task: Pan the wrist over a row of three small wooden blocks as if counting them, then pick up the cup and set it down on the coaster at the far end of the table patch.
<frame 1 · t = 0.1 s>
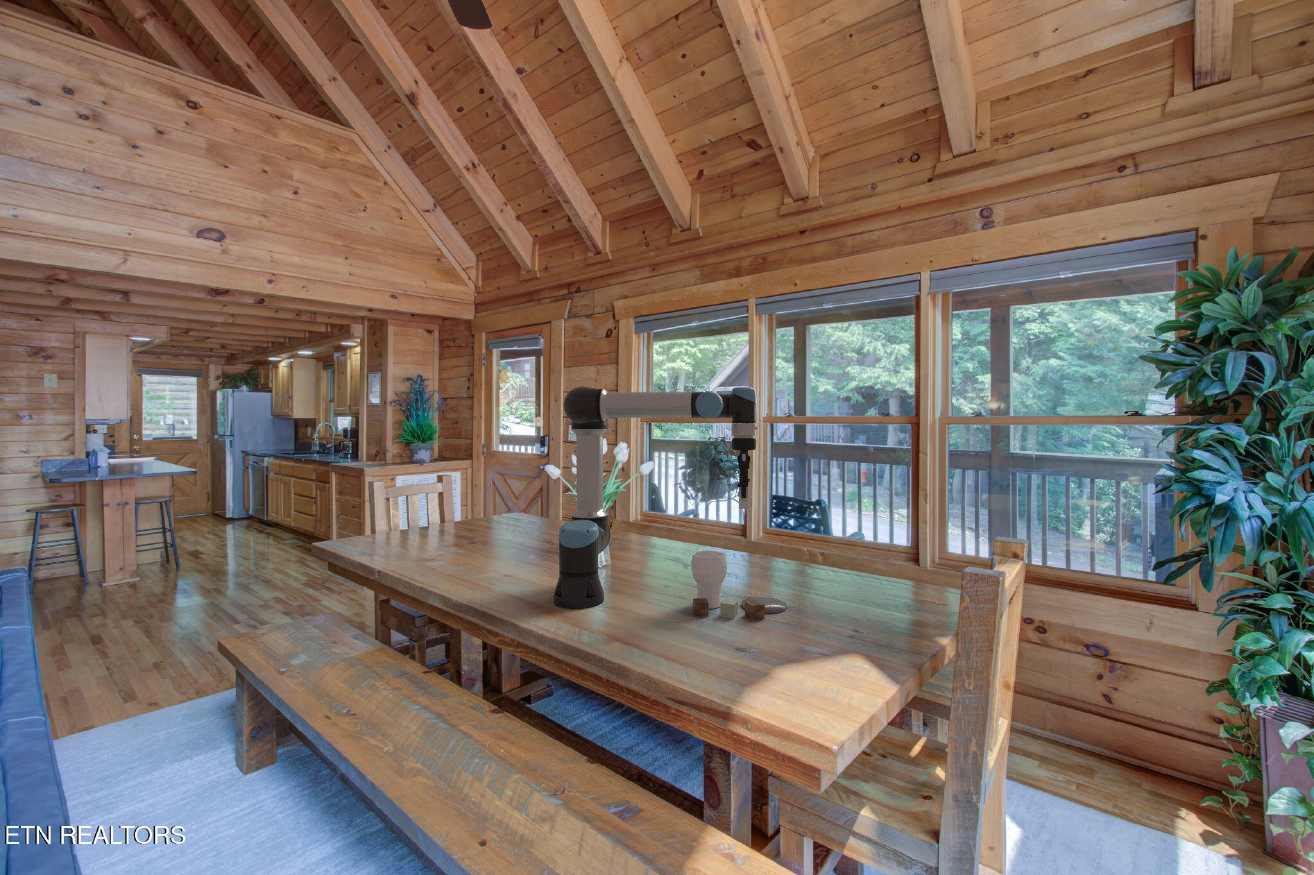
hand: (743, 505, 182), 28 cm above the table, fingers open, 13 cm apart
block b: (729, 615, 163), on the table
block a: (700, 614, 164), on the table
cup: (709, 605, 173), on the table
coaster: (763, 606, 171), on the table
block c: (754, 617, 162), on the table
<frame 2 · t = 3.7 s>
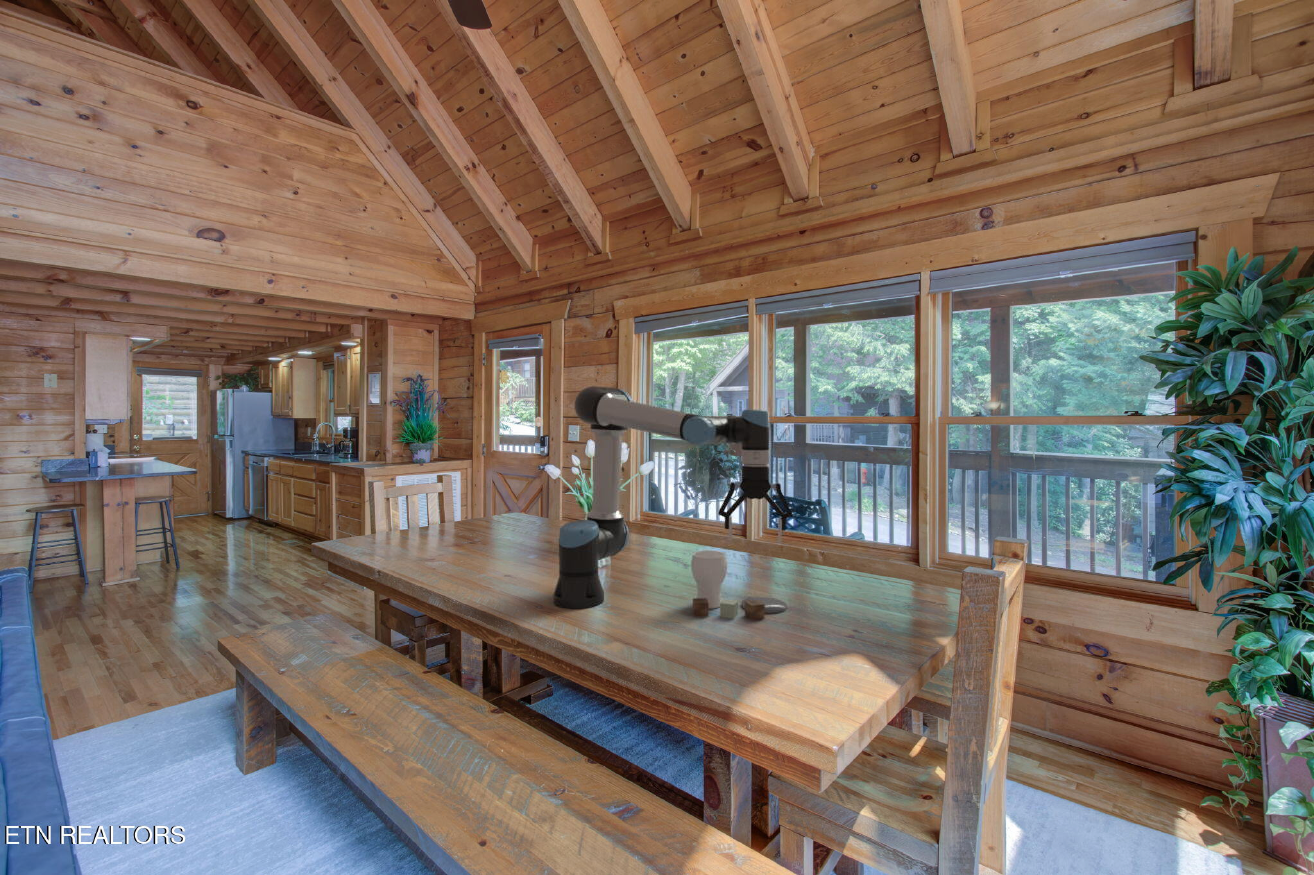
hand: (754, 541, 163), 21 cm above the table, fingers open, 13 cm apart
nothing on the table moved.
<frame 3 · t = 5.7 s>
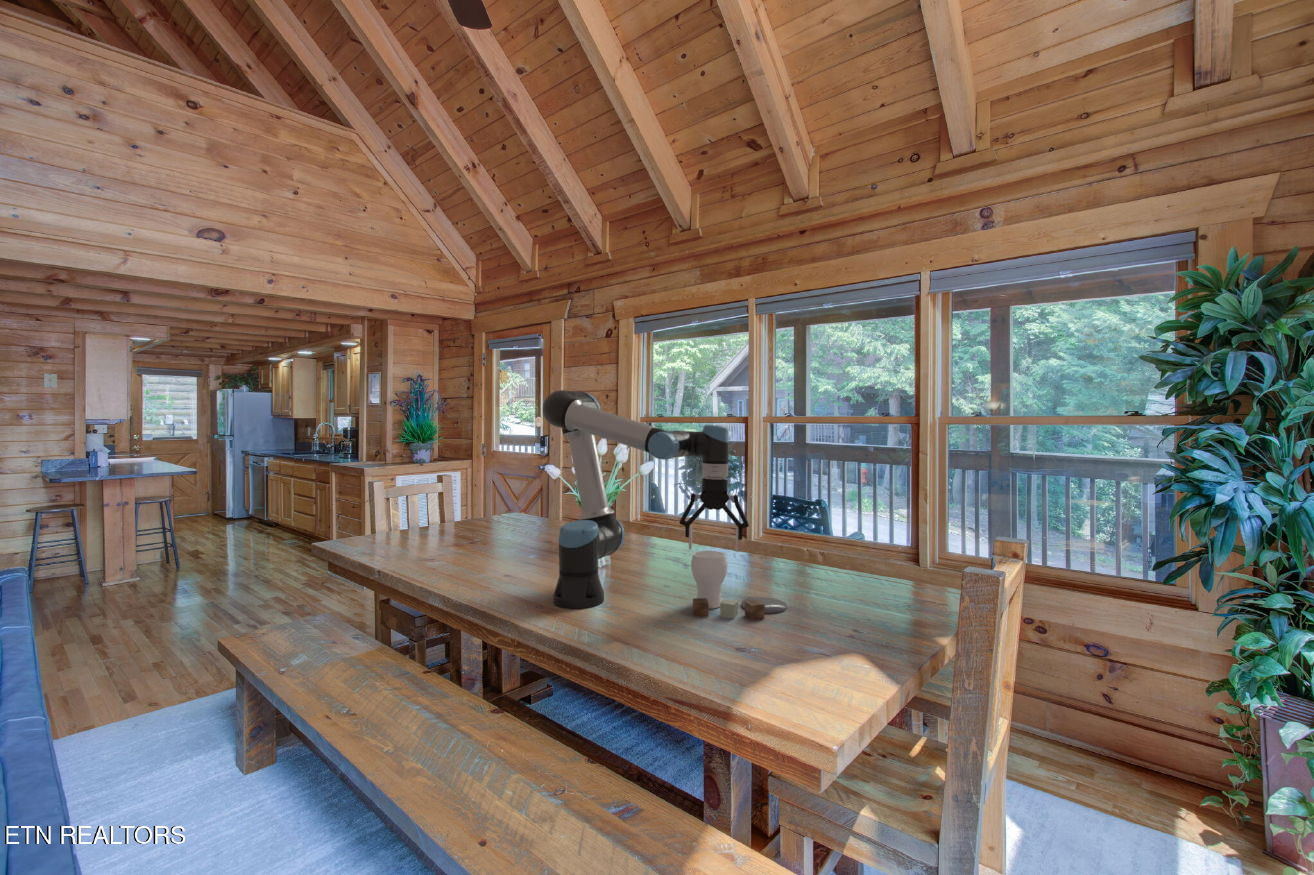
hand: (713, 549, 173), 16 cm above the table, fingers open, 13 cm apart
nothing on the table moved.
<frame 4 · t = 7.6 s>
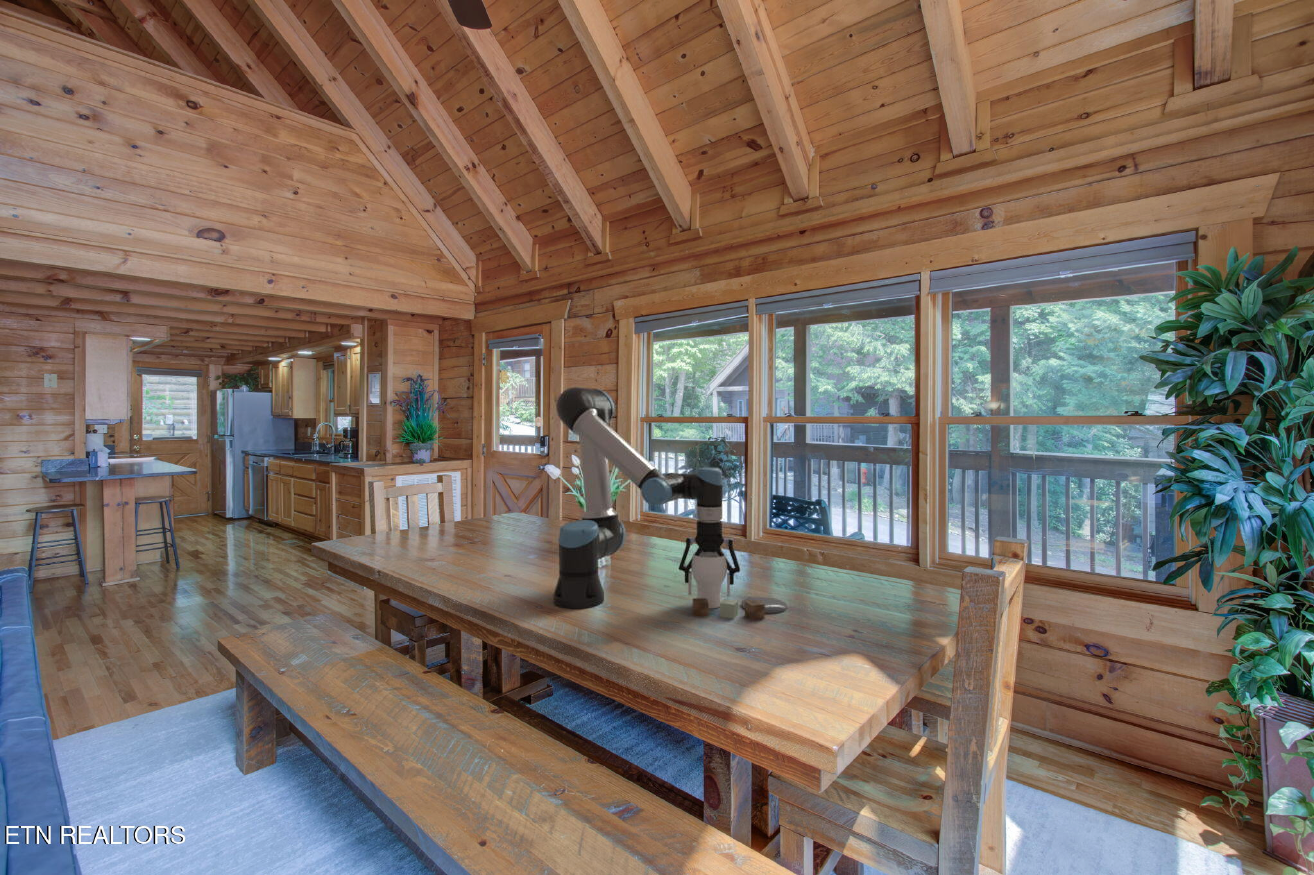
hand: (709, 594, 173), 3 cm above the table, fingers closed on cup, 11 cm apart
cup: (709, 605, 173), on the table, touching gripper
everything else where it was.
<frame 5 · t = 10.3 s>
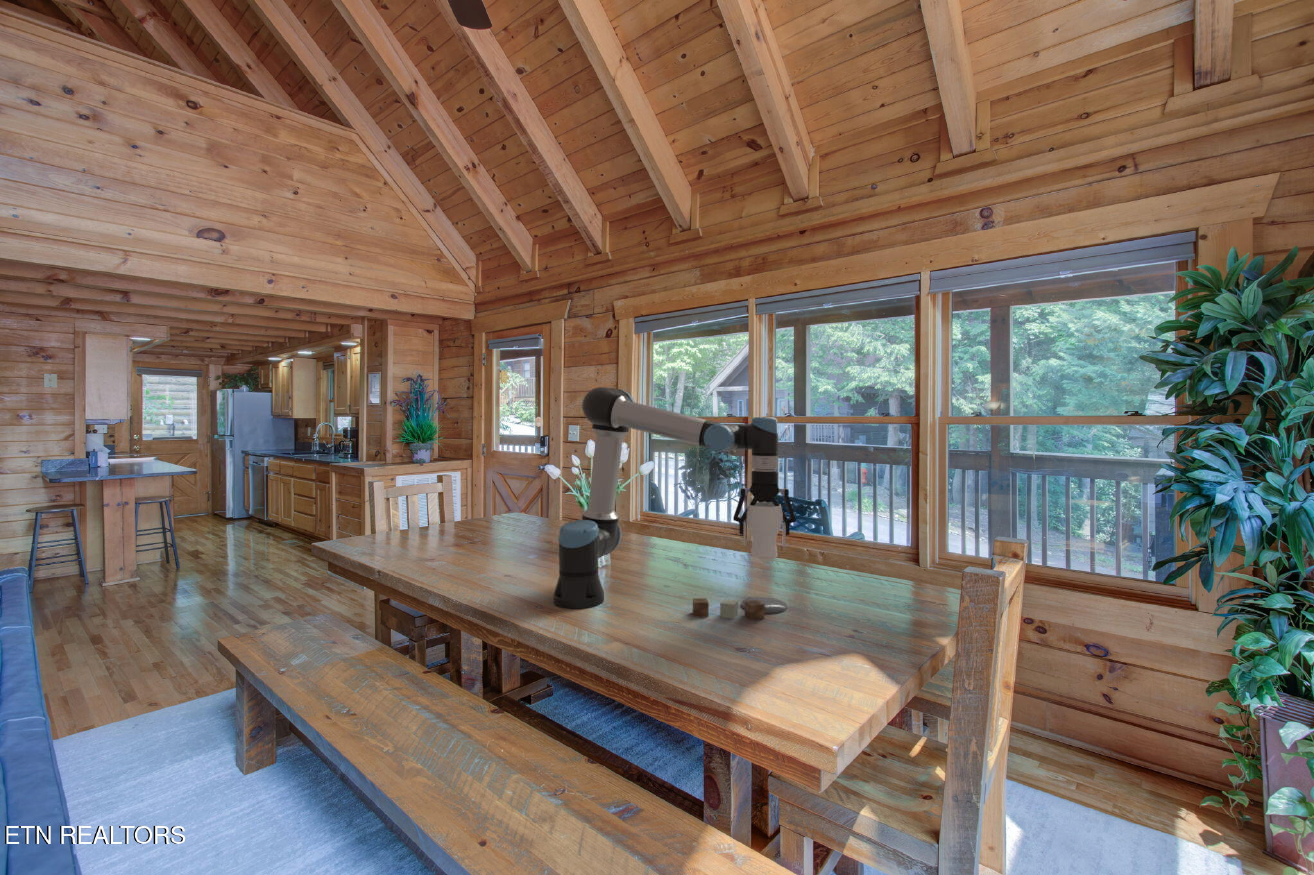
hand: (764, 545, 171), 18 cm above the table, fingers closed on cup, 11 cm apart
cup: (764, 556, 171), point 15 cm above the table, touching gripper
everything else where it was.
when the fingers open (6 cm above the table, at t = 13.1 s): cup drops 2 cm, resting on coaster.
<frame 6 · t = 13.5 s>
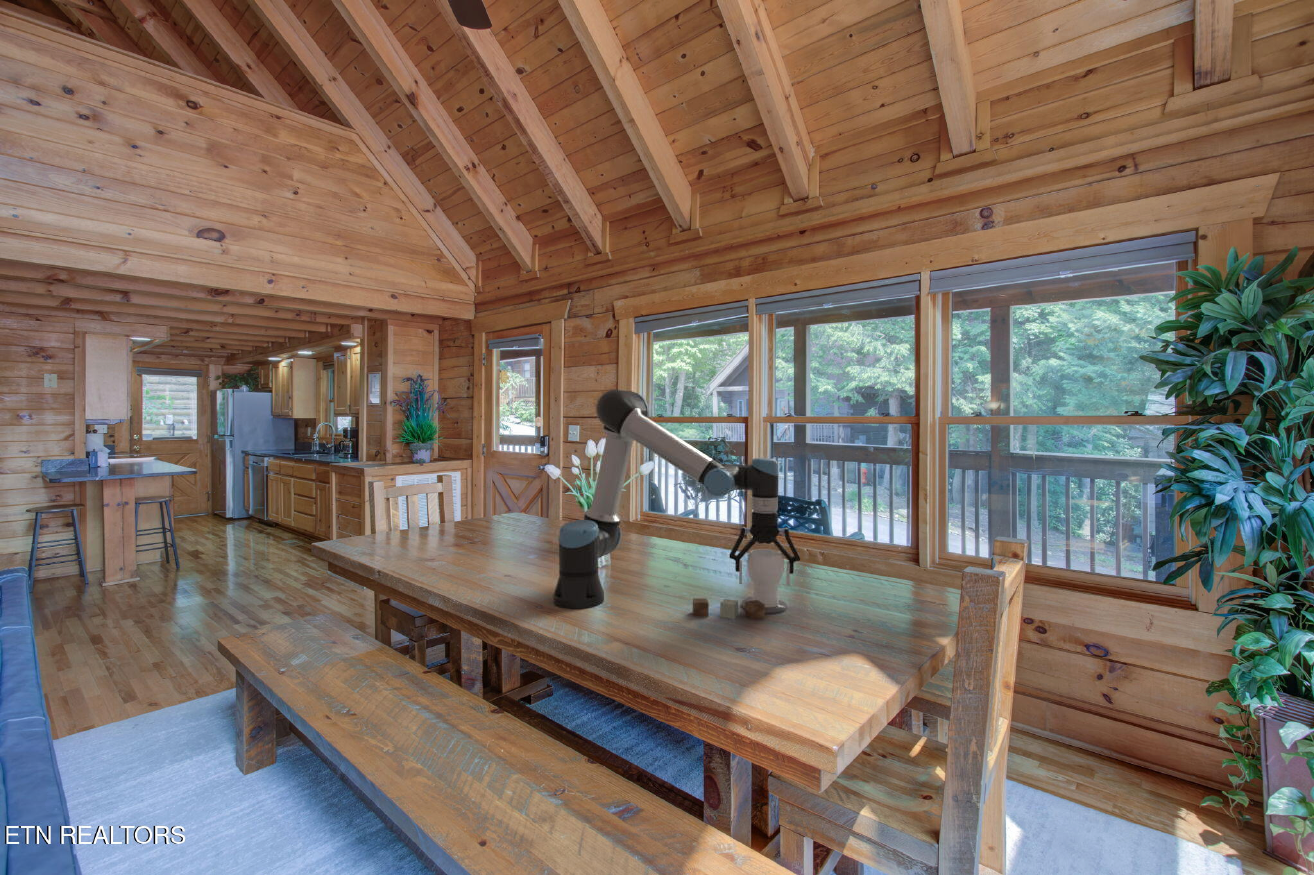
hand: (764, 583, 171), 7 cm above the table, fingers open, 13 cm apart
cup: (765, 604, 171), point 1 cm above the table, touching coaster
everything else where it was.
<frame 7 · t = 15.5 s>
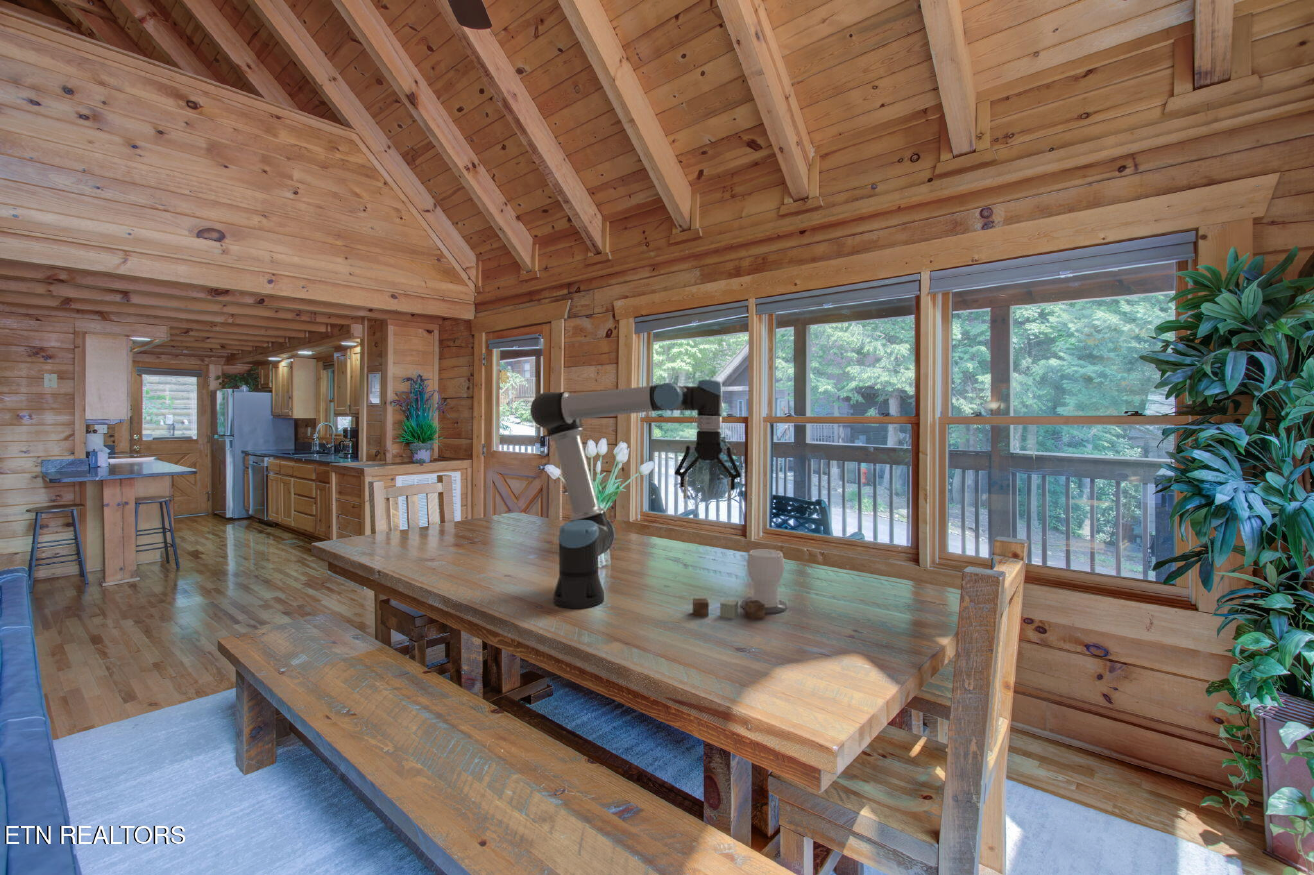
hand: (707, 499, 181), 30 cm above the table, fingers open, 13 cm apart
nothing on the table moved.
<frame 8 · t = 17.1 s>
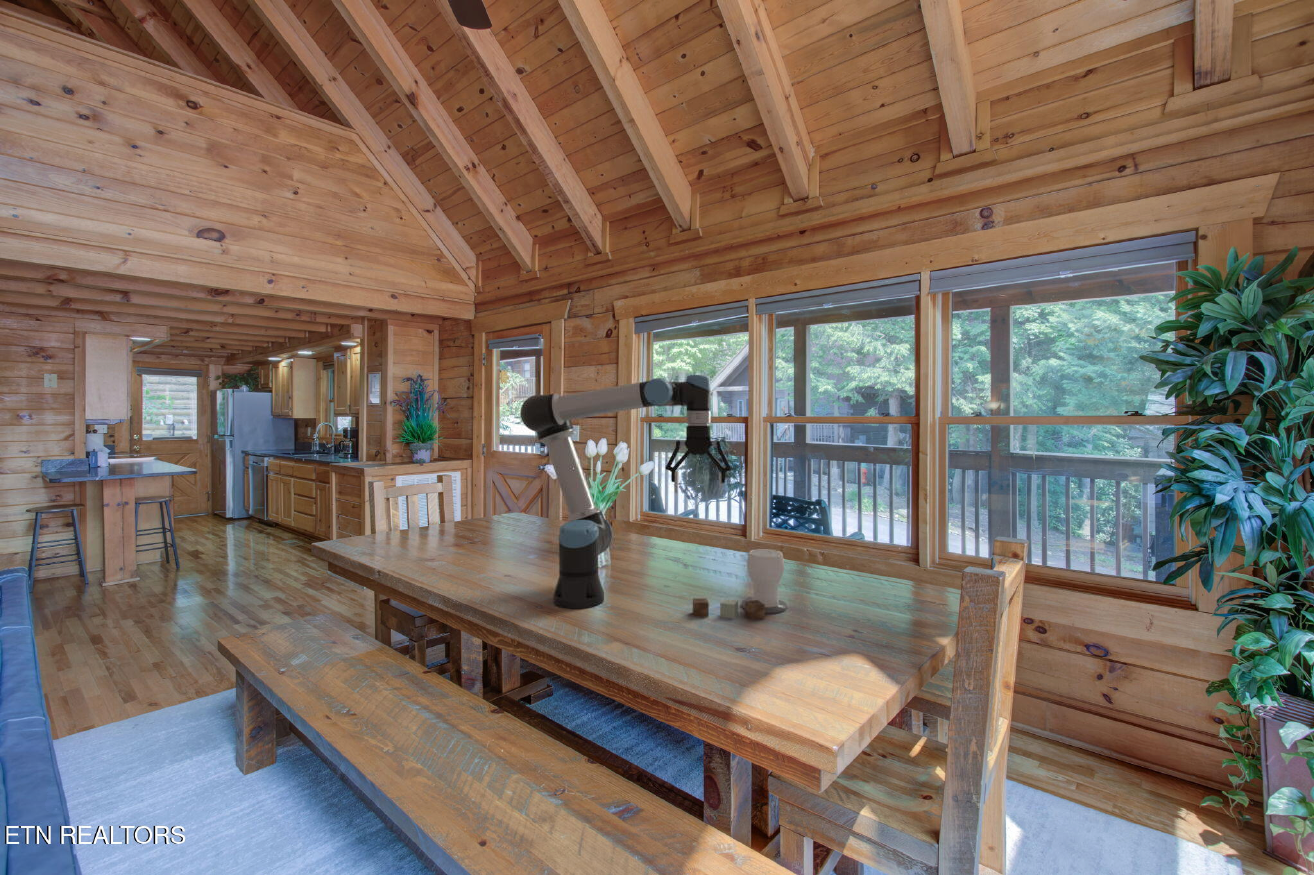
hand: (698, 493, 183), 32 cm above the table, fingers open, 13 cm apart
nothing on the table moved.
at the end: cup 0.5 cm from the coaster (horizontally); cup tilted 0°; cup point 0.6 cm above the table; the gripper is holding nothing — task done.
